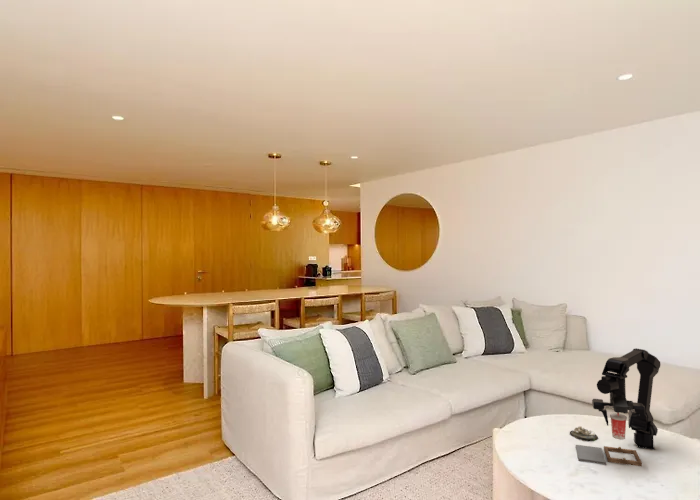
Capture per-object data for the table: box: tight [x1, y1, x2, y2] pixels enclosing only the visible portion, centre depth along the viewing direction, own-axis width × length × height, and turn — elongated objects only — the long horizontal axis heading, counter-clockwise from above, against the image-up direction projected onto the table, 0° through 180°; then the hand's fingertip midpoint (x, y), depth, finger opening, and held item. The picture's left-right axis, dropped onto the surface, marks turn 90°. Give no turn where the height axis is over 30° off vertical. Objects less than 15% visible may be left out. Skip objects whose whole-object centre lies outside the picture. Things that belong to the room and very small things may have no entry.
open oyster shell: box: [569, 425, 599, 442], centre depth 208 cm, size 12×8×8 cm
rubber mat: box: [575, 444, 607, 465], centre depth 189 cm, size 10×14×1 cm
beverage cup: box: [609, 412, 628, 441], centre depth 187 cm, size 6×6×14 cm
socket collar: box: [603, 445, 643, 468], centre depth 186 cm, size 12×12×2 cm
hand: (618, 426), depth 187 cm, fingers closed on beverage cup, 8 cm apart
